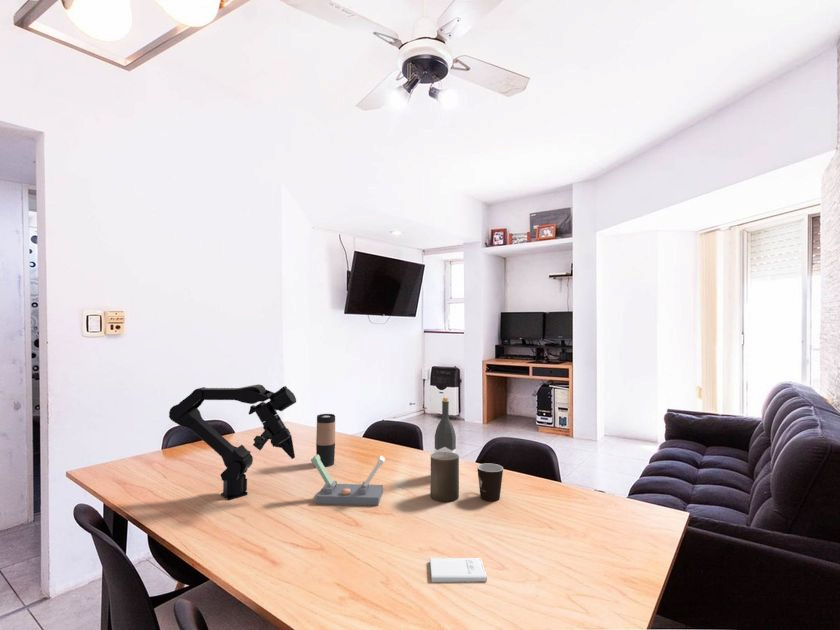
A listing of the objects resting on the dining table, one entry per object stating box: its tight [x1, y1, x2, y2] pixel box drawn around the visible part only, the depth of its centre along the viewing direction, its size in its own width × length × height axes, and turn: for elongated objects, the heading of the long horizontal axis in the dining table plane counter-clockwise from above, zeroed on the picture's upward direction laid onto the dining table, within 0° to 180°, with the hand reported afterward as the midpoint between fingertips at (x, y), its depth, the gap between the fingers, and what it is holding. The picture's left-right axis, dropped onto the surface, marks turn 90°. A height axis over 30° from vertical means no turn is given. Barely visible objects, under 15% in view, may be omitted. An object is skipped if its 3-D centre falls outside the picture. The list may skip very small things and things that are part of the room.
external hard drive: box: [429, 557, 488, 583], centre depth 99 cm, size 2×8×12 cm
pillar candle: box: [429, 452, 460, 503], centre depth 143 cm, size 10×10×15 cm
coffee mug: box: [476, 462, 504, 503], centre depth 144 cm, size 12×9×10 cm
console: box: [315, 480, 384, 507], centre depth 141 cm, size 20×11×4 cm, turn 88°
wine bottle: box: [434, 396, 457, 454], centre depth 162 cm, size 8×8×30 cm
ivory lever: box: [361, 455, 386, 489], centre depth 141 cm, size 2×4×12 cm
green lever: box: [310, 454, 336, 489], centre depth 141 cm, size 2×4×12 cm
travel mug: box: [315, 413, 336, 468], centre depth 176 cm, size 8×8×20 cm
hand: (293, 458), depth 143 cm, fingers closed
